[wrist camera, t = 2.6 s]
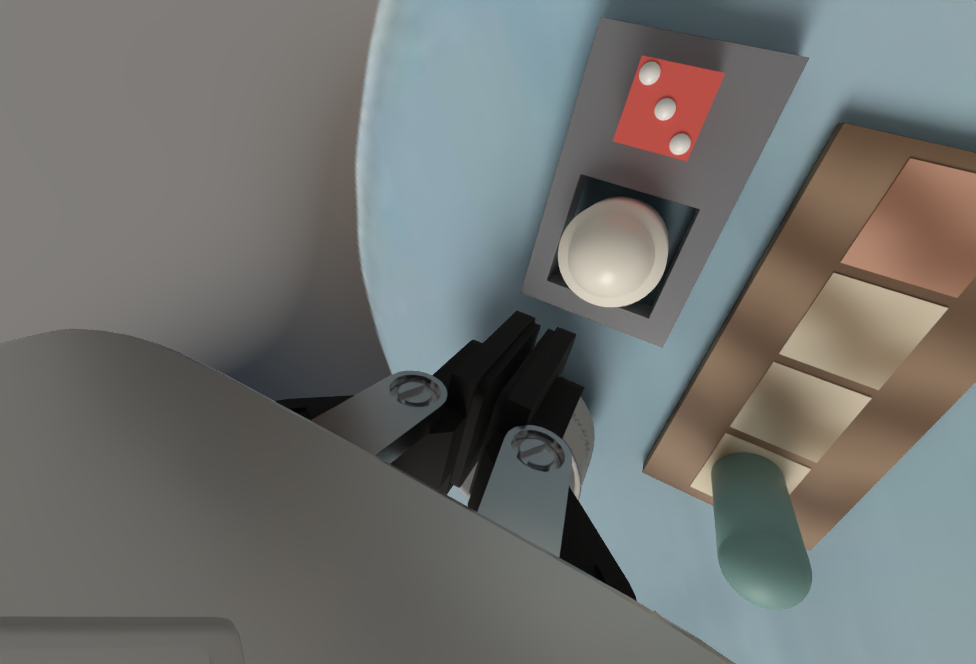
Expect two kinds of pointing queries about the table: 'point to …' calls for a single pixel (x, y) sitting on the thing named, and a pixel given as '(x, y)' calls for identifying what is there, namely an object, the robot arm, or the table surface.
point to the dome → (614, 251)
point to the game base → (659, 173)
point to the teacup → (579, 444)
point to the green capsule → (758, 532)
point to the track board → (841, 330)
